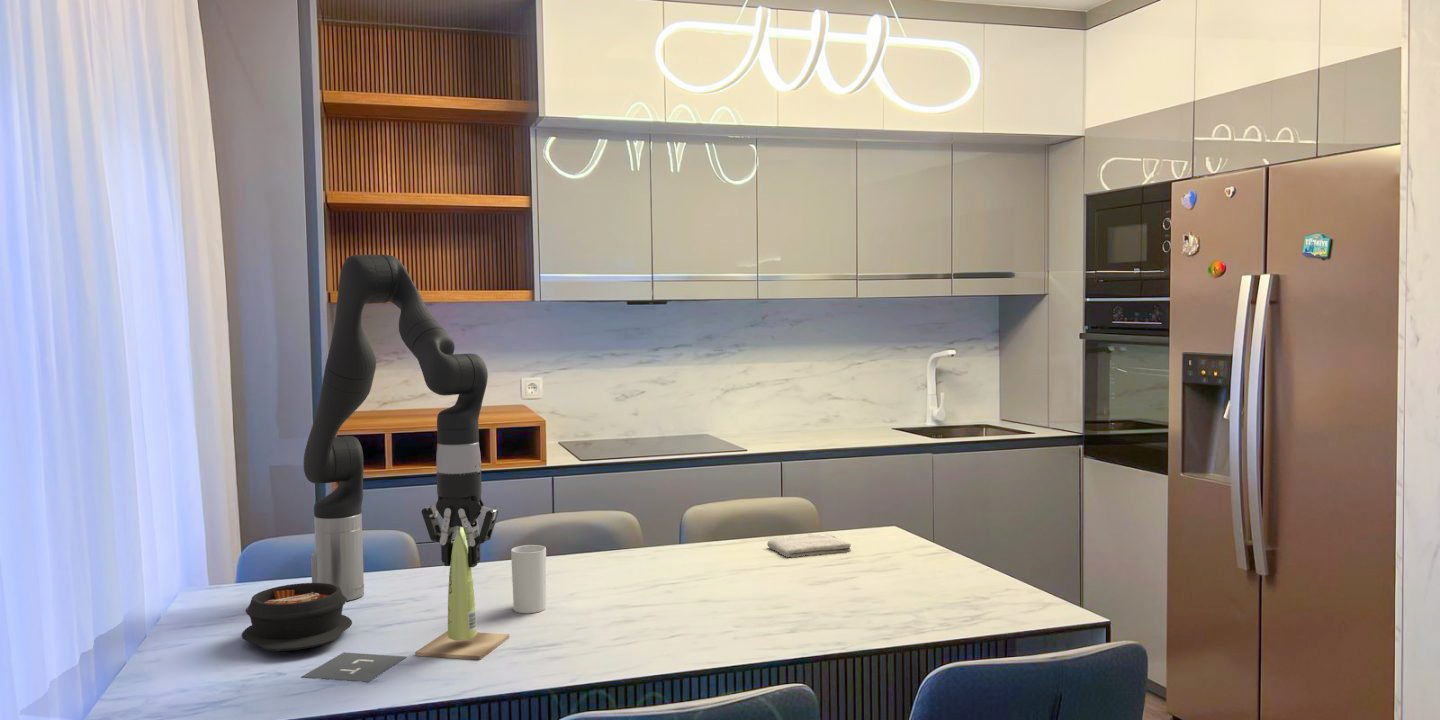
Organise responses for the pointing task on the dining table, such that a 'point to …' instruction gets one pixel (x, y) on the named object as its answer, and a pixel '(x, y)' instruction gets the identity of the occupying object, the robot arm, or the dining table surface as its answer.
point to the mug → (529, 578)
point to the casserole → (296, 616)
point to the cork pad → (463, 646)
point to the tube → (461, 592)
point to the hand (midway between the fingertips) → (461, 565)
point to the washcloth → (808, 545)
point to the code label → (355, 667)
